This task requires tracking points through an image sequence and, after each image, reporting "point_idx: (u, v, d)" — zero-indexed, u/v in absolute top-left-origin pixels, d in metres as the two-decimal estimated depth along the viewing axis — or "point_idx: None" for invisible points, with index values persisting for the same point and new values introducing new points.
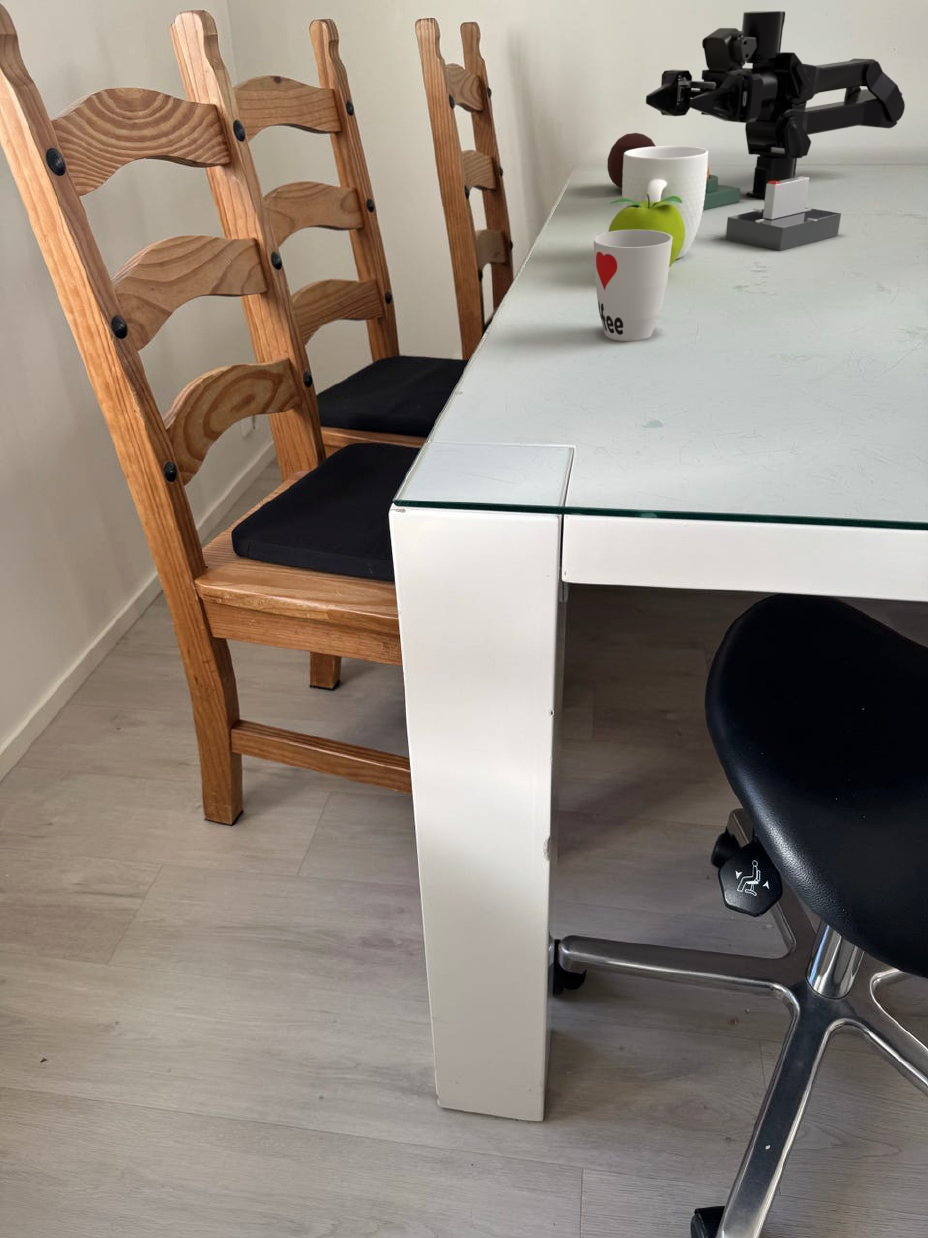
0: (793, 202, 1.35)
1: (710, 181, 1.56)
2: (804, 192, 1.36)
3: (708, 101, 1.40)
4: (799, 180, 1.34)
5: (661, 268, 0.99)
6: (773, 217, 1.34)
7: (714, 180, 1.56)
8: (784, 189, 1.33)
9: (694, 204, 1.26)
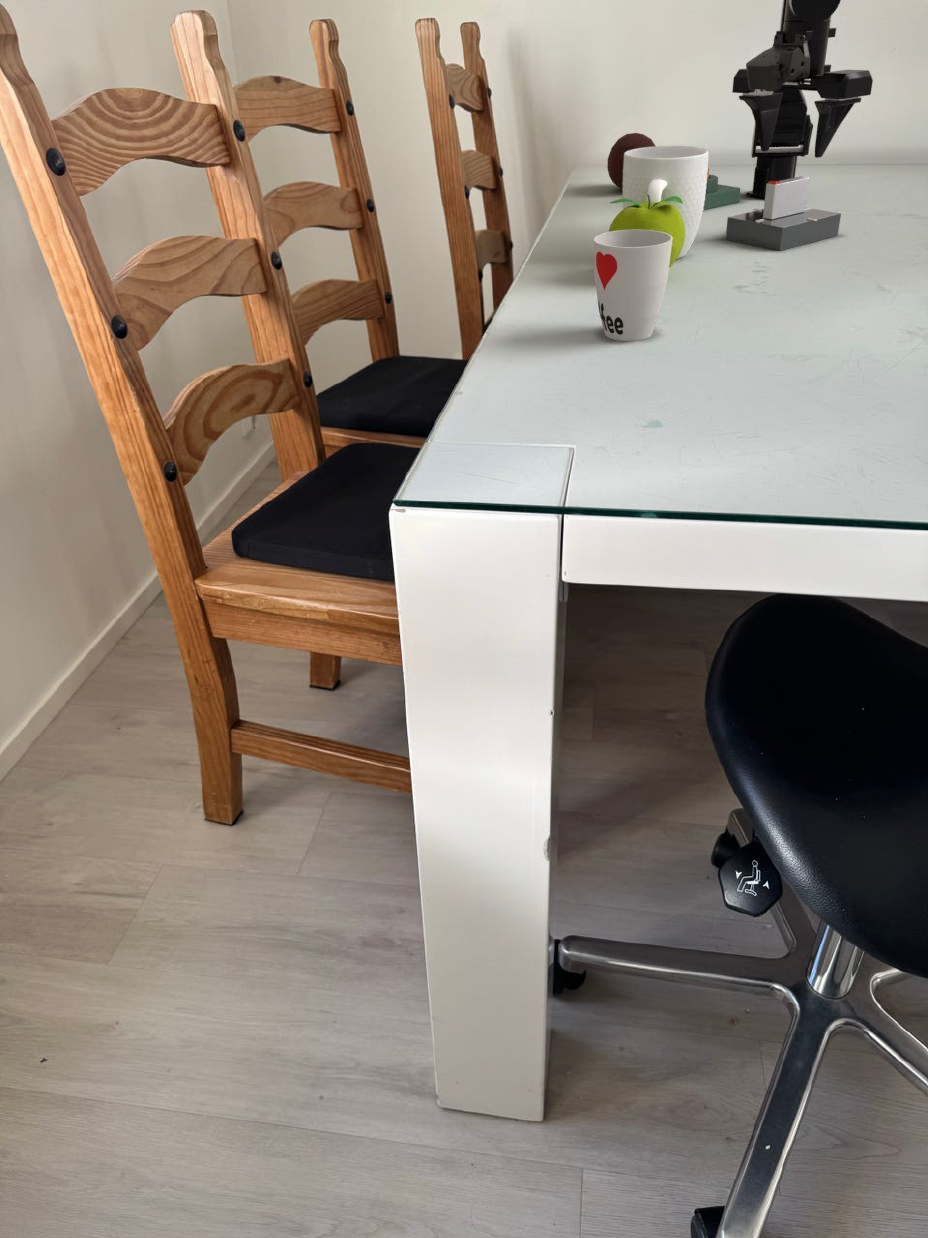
0: (793, 202, 1.35)
1: (710, 181, 1.56)
2: (804, 192, 1.36)
3: (827, 136, 1.27)
4: (799, 180, 1.34)
5: (661, 268, 0.99)
6: (773, 217, 1.34)
7: (714, 180, 1.56)
8: (784, 189, 1.33)
9: (694, 204, 1.26)
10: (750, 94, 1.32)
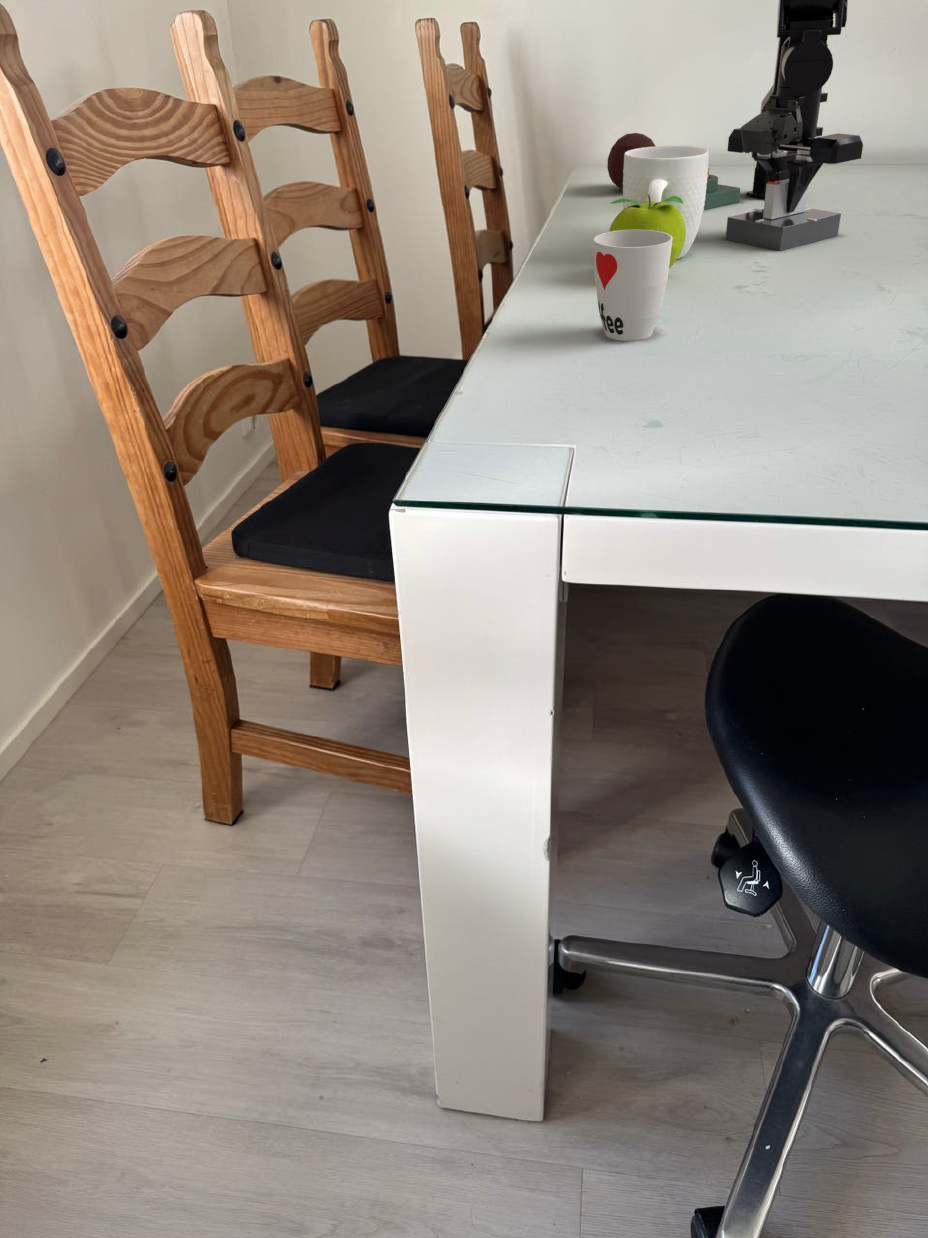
0: None
1: (710, 181, 1.56)
2: None
3: (798, 193, 1.33)
4: None
5: (661, 268, 0.99)
6: (773, 217, 1.34)
7: (714, 180, 1.56)
8: (784, 189, 1.33)
9: (694, 204, 1.26)
10: (765, 156, 1.33)
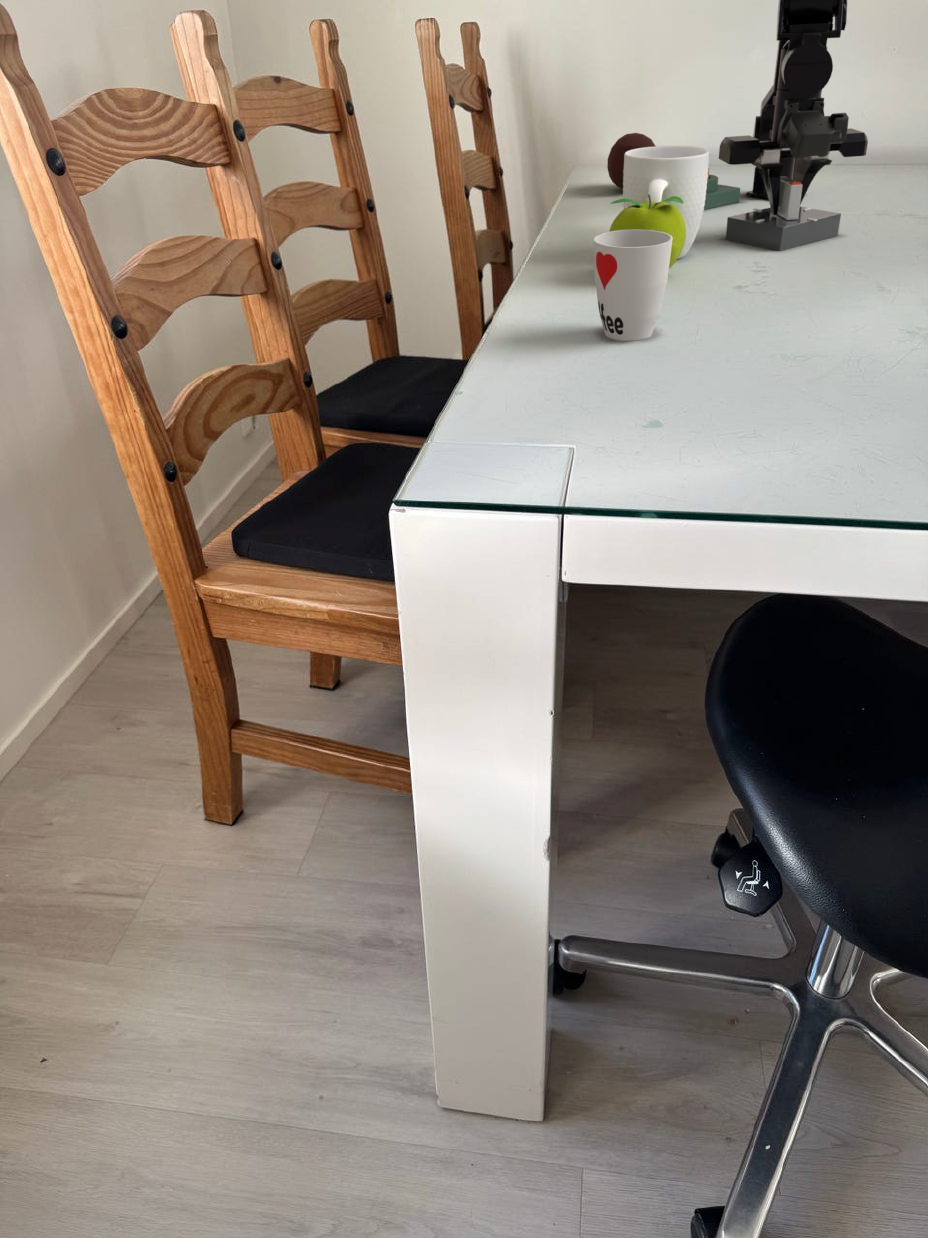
0: None
1: (710, 181, 1.56)
2: None
3: None
4: (790, 179, 1.35)
5: (661, 268, 0.99)
6: (797, 217, 1.34)
7: (714, 180, 1.56)
8: None
9: (695, 204, 1.26)
10: (773, 162, 1.31)
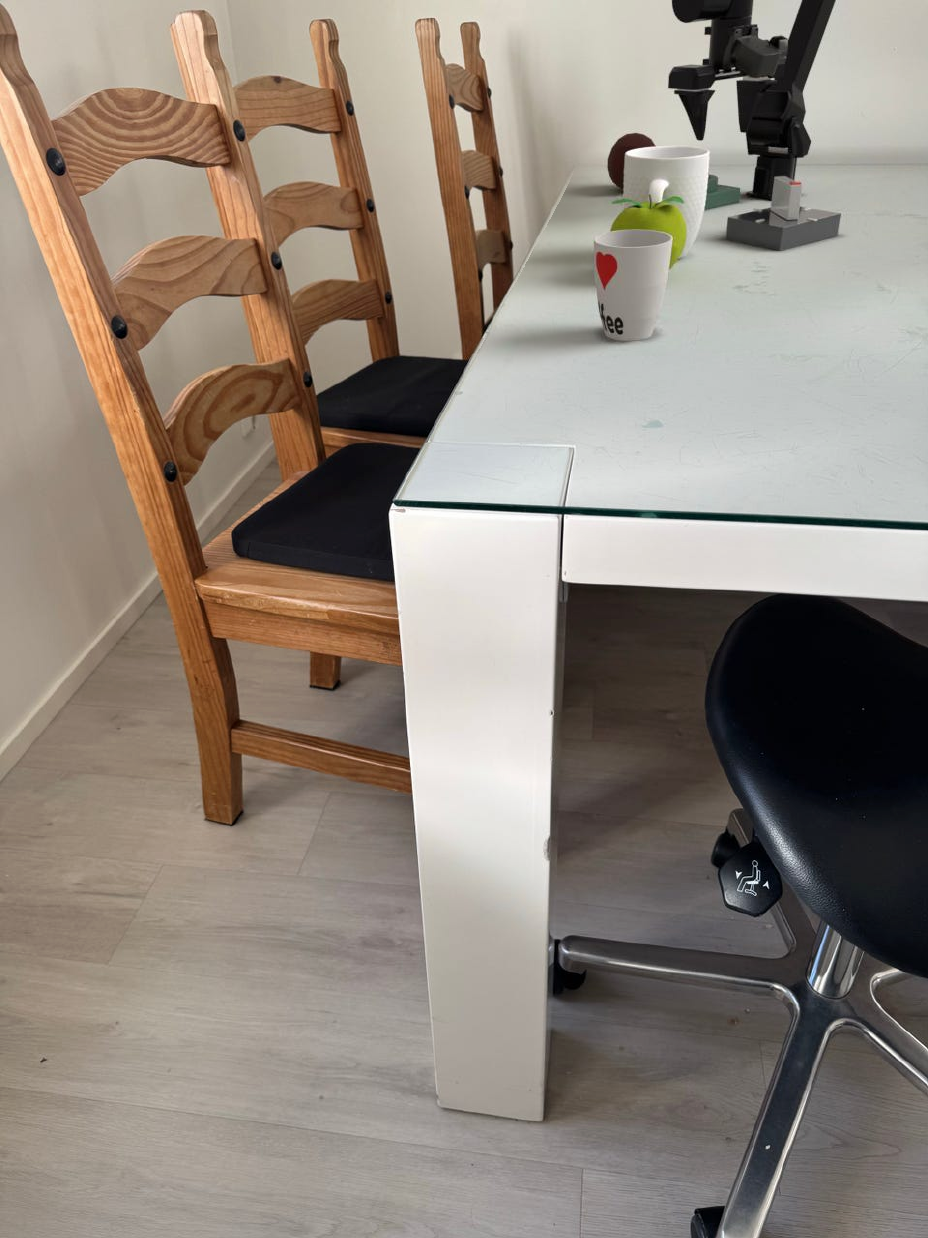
0: None
1: (710, 181, 1.56)
2: None
3: None
4: (790, 179, 1.35)
5: (661, 268, 0.99)
6: (797, 217, 1.34)
7: (714, 180, 1.56)
8: None
9: (695, 204, 1.26)
10: (705, 89, 1.41)
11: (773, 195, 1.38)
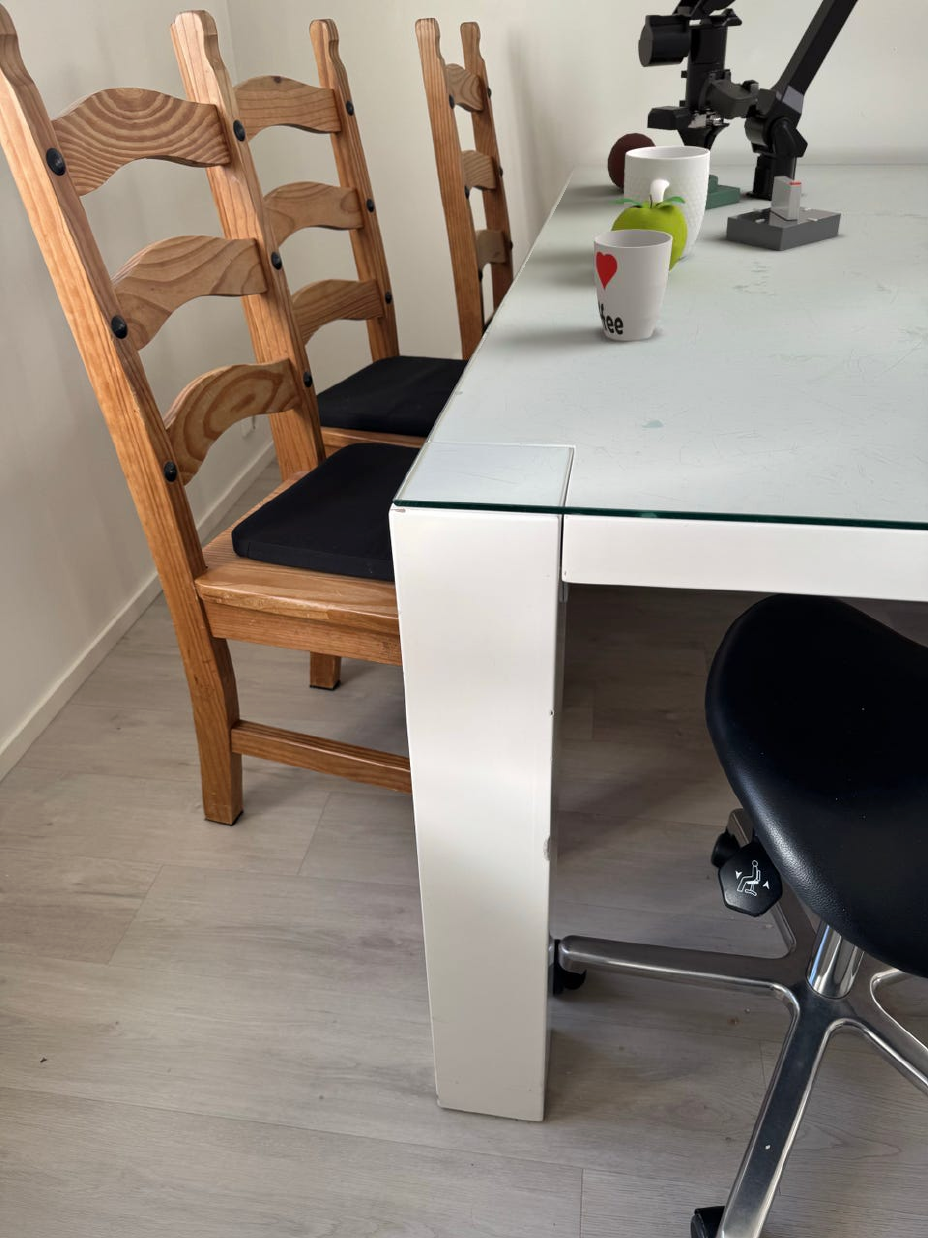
0: None
1: (710, 181, 1.56)
2: None
3: None
4: (790, 179, 1.35)
5: (661, 268, 0.99)
6: (797, 217, 1.34)
7: (714, 180, 1.56)
8: None
9: (696, 205, 1.25)
10: (702, 125, 1.52)
11: (773, 195, 1.38)
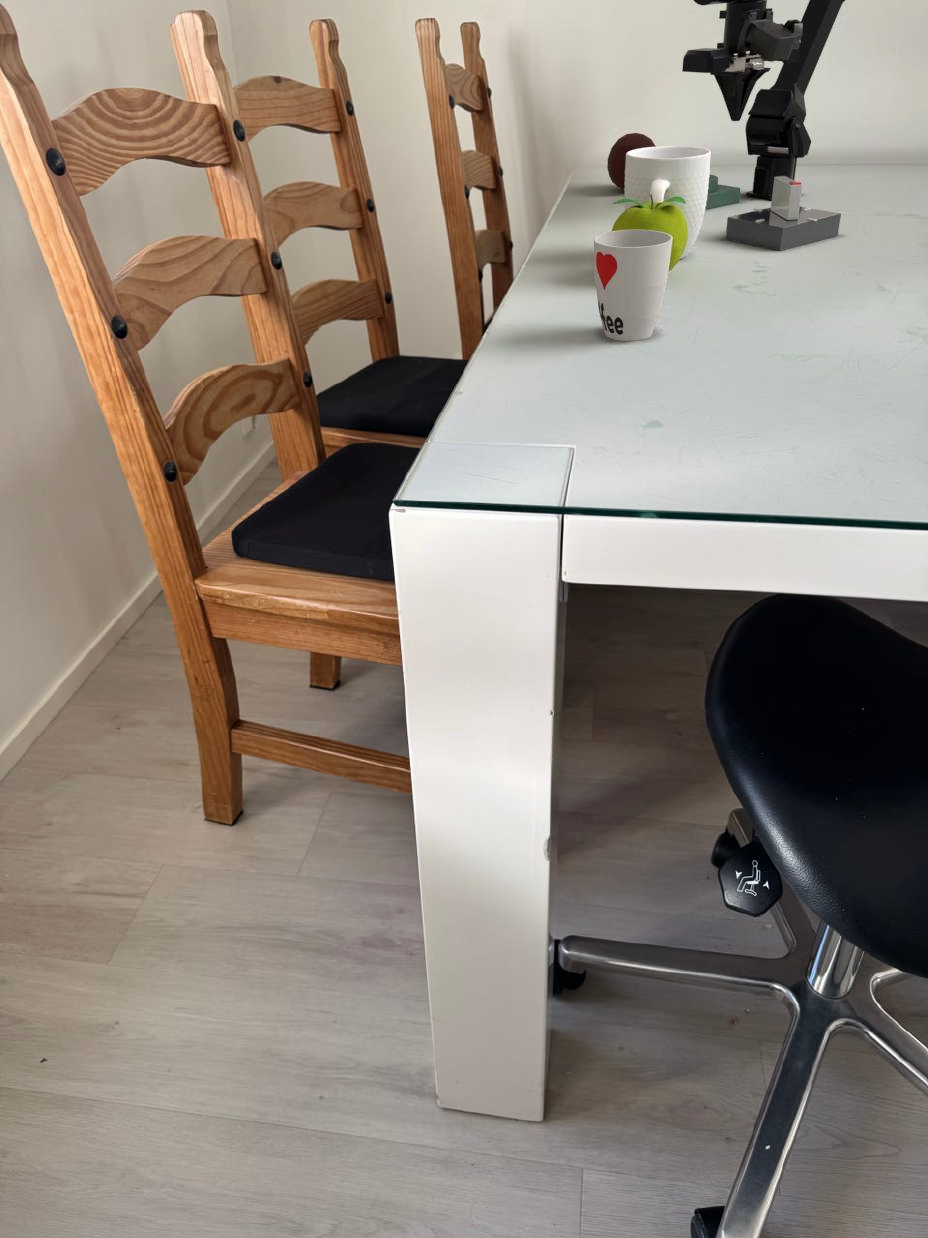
0: None
1: (710, 181, 1.56)
2: None
3: None
4: (790, 179, 1.35)
5: (661, 268, 0.99)
6: (797, 217, 1.34)
7: (714, 180, 1.56)
8: None
9: (696, 205, 1.25)
10: (741, 69, 1.43)
11: (773, 195, 1.38)
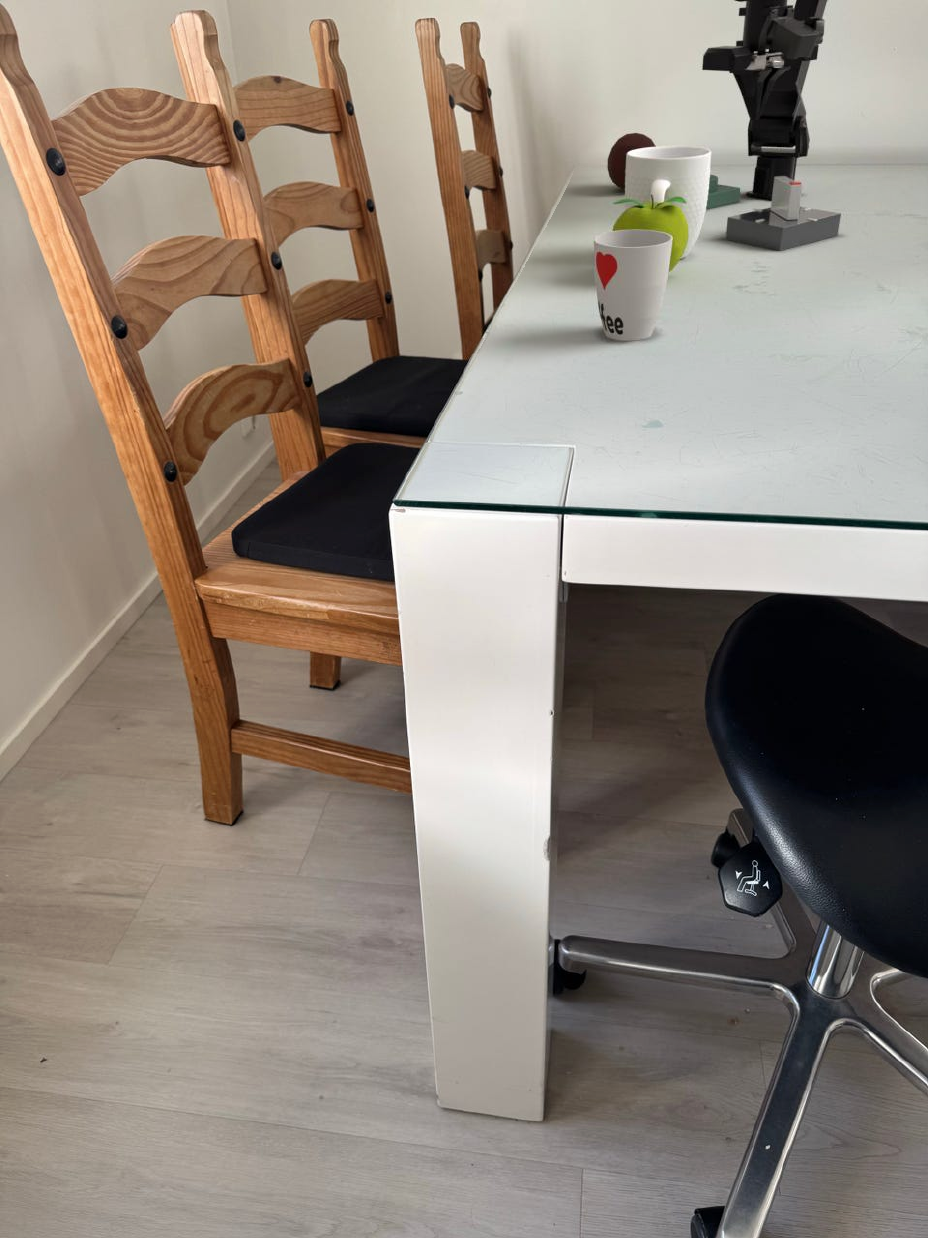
0: None
1: (710, 181, 1.56)
2: None
3: None
4: (790, 179, 1.35)
5: (661, 268, 0.99)
6: (797, 217, 1.34)
7: (714, 180, 1.56)
8: None
9: (697, 205, 1.25)
10: (761, 67, 1.40)
11: (773, 195, 1.38)
